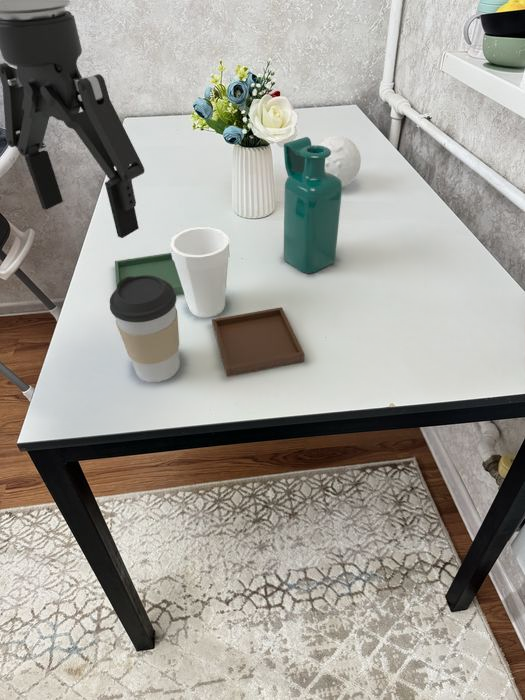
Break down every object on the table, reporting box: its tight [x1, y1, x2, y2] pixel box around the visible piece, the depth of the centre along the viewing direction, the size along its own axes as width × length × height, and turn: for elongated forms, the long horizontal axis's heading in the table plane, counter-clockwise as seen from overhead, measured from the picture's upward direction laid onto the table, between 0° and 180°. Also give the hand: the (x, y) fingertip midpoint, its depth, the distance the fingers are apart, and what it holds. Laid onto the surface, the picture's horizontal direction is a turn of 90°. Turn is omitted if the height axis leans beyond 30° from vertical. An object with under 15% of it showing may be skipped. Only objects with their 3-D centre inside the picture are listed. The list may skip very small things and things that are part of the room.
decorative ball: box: [317, 135, 362, 189], centre depth 118 cm, size 12×12×12 cm
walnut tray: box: [211, 307, 305, 377], centre depth 79 cm, size 12×12×2 cm
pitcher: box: [283, 136, 343, 274], centre depth 90 cm, size 10×8×22 cm
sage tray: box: [114, 252, 185, 296], centre depth 93 cm, size 12×12×2 cm
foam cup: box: [169, 226, 231, 319], centre depth 82 cm, size 10×9×13 cm
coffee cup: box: [109, 275, 181, 383], centre depth 71 cm, size 9×9×15 cm
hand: (89, 218), depth 61 cm, fingers open, 13 cm apart
